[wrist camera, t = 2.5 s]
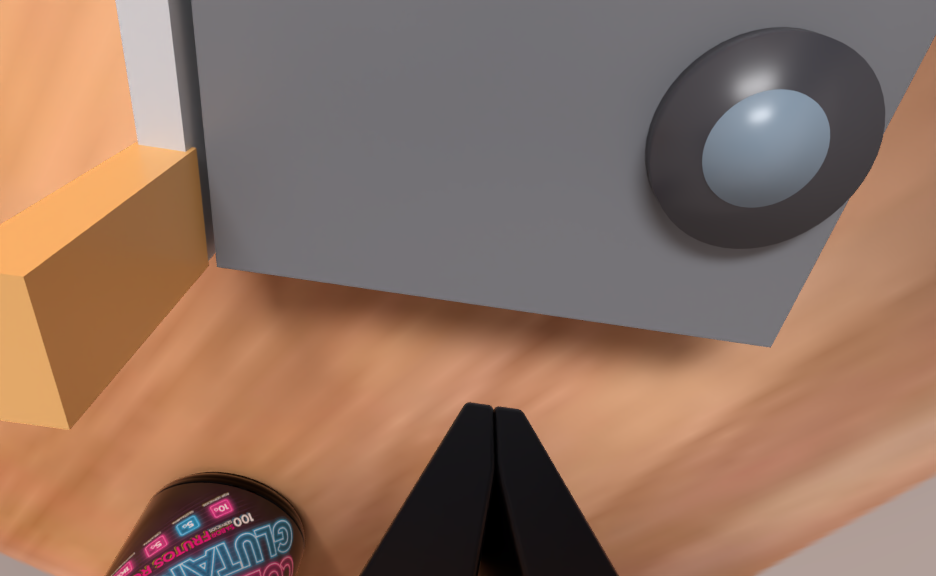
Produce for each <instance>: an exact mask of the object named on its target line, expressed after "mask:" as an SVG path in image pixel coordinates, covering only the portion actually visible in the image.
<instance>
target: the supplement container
mask: <svg viewBox="0 0 936 576" xmlns="http://www.w3.org/2000/svg"><path fill="white" fill-rule="evenodd" d="M304 549H305V534H304V528H303V525H302V522H301V520H300V517H299V516H298V514H297V512H296V511H295V509H294V508H293V507H292V505H291V504H290V503H289V502H288V501H287V500H286V499H285V498H284V497H283V496H281V495H280V494H279V493H278V492H276V491H275V490H273V489H271V488H270V487H268V486H266V485H264V484H262V483H260V482H258V481H255V480H253V479H250V478H247V477H243V476H239V475H235V474H229V473H221V472H205V473H197V474H192V475H189V476H185V477H182V478H179V479H177V480H175V481H173V482H171V483H169V484H167V485H166V486H165V487H163V488H162V489H161V490H159V491H158V492H157V493H156V494H155V495H154V496H153V497H152V498H151V500H150V501H149V503H148V505H147V506H146V508H145V510H144V511H143V513H142V515H141V516H140V518H139V519H138V521H137V523H136V524H135V526H134V528H133V529H132V531H131V533H130V534H129V536H128V538H127V539H126V541H125V543H124V544H123V546H122V548H121V549H120V551H119V553H118V554H117V556H116V557H115V559H114V561H113V562H112V564H111V566H110V567H109V569H108V571H107V572H106V574H105V576H296V575H297V572H298V569H299V565H300V562H301V559H302V556H303V553H304Z"/></svg>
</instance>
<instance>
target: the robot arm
mask: <svg viewBox="0 0 936 576" xmlns="http://www.w3.org/2000/svg"><path fill="white" fill-rule="evenodd" d="M359 576H619V575H618V574H617V572H616V570H615V568H614V567H613V565H612V563H611V562H610V560H609V558H608V556H607V555H606V553H605V551H604V550H603V548H602V546H601V544H600V543H599V541H598V539H597V538H596V536H595V534H594V532H593V531H592V529H591V527H590V526H589V524H588V522H587V520H586V519H585V517H584V515H583V514H582V512H581V510H580V509H579V507H578V505H577V503H576V502H575V500H574V498H573V497H572V495H571V493H570V491H569V490H568V488H567V486H566V485H565V483H564V481H563V479H562V478H561V476H560V474H559V473H558V471H557V469H556V467H555V466H554V464H553V462H552V461H551V459H550V457H549V455H548V454H547V452H546V450H545V449H544V447H543V445H542V443H541V442H540V440H539V438H538V437H537V435H536V433H535V431H534V430H533V428H532V426H531V425H530V423H529V421H528V420H527V418H526V416H525V414H524V413H523V412H522V411H521V410H519V409H514V408H507V407H496V408H495V409H494V410H493V408H492V407H491V406H490V405H485V404H478V403H471V402H468V403H466V404H465V405H464V406H463V408H462V409H461V411H460V413H459V414H458V416H457V417H456V419H455V421H454V422H453V424H452V426H451V427H450V429H449V430H448V432H447V434H446V435H445V437H444V439H443V440H442V442H441V443H440V445H439V447H438V448H437V450H436V452H435V453H434V455H433V456H432V458H431V460H430V461H429V463H428V465H427V466H426V468H425V469H424V471H423V473H422V474H421V476H420V478H419V479H418V481H417V482H416V484H415V486H414V487H413V489H412V491H411V492H410V494H409V495H408V497H407V499H406V500H405V502H404V504H403V505H402V507H401V508H400V510H399V512H398V513H397V515H396V517H395V518H394V520H393V521H392V523H391V525H390V526H389V528H388V530H387V531H386V533H385V534H384V536H383V538H382V539H381V541H380V543H379V544H378V546H377V547H376V549H375V551H374V552H373V554H372V556H371V557H370V559H369V560H368V562H367V564H366V565H365V567H364V568H363V570H362V572H361V573H360V575H359Z"/></svg>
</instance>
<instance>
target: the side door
mask: <svg viewBox="0 0 936 576" xmlns="http://www.w3.org/2000/svg"><path fill="white" fill-rule="evenodd" d="M115 1H116V7H117V14H118V20H119V26H120V32H121V39H122V45H123V51H124V57H125V64H126V70H127V76H128V83H129V89H130V95H131V101H132V108H133V114H134V120H135V127H136V133H137V139H138V142H136V143H134V144H133V145H131V146H129V147H128V148H126V149H124V150H123V151H121V152H119V153H118V154H116V155H114V156H113V157H111V158H109V159H108V160H106V161H105V162H103V163H101V164H100V165H98V166H96V167H95V168H93V169H91V170H90V171H88V172H86V173H85V174H83V175H81V176H80V177H78V178H76V179H75V180H73V181H72V182H70V183H68V184H67V185H65V186H63V187H62V188H60V189H58V190H57V191H55V192H53V193H52V194H50V195H48V196H47V197H45V198H43V199H42V200H40V201H39V202H37V203H35V204H34V205H32V206H30V207H29V208H27V209H25V210H24V211H22V212H20V213H19V214H17V215H15V216H14V217H12V218H11V219H9V220H7V221H6V222H4V223H2V224H1V225H0V421H7V422H14V423H22V424H29V425H37V426H44V427H52V428H59V429H67V430H70V429H71V428H72V427H73V426H74V424H75V423H76V422H77V421H78V420H79V418H80V417H81V416H82V415H83V414H84V413H85V411H86V410H87V409H88V408H89V407H90V405H91V404H92V403H93V402H94V401H95V400H96V398H97V397H98V396H99V395H100V394H101V392H102V391H103V390H104V389H105V388H106V387H107V385H108V384H109V383H110V382H111V381H112V379H113V378H114V377H115V376H116V375H117V374H118V372H119V371H120V370H121V369H122V368H123V366H124V365H125V364H126V363H127V362H128V361H129V359H130V358H131V357H132V356H133V355H134V354H135V352H136V351H137V350H138V349H139V348H140V346H141V345H142V344H143V343H144V342H145V341H146V339H147V338H148V337H149V336H150V335H151V333H152V332H153V331H154V330H155V329H156V328H157V326H158V325H159V324H160V323H161V322H162V320H163V319H164V318H165V317H166V316H167V315H168V313H169V312H170V311H171V310H172V309H173V307H174V306H175V305H176V304H177V303H178V302H179V300H180V299H181V298H182V297H183V296H184V294H185V293H186V292H187V291H188V290H189V289H190V287H191V286H192V285H193V284H194V283H195V281H196V280H197V279H198V278H199V277H200V276H201V274H202V273H203V272H204V271H205V270H206V268H207V267H208V266H209V262H208V261H209V260H210V258H211V257H212V256H213V255H214V254H215V253H216V251H215V241H214V231H213V220H212V210H211V200H210V189H209V179H208V169H207V159H206V148H205V138H204V128H203V117H202V107H201V97H200V87H199V76H198V66H197V56H196V45H195V35H194V25H193V15H192V4H191V0H115Z"/></svg>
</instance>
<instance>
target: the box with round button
mask: <svg viewBox="0 0 936 576" xmlns="http://www.w3.org/2000/svg"><path fill="white" fill-rule="evenodd" d="M191 4H192V15H193V25H194V35H195V45H196V56H197V66H198V76H199V87H200V97H201V107H202V117H203V128H204V138H205V148H206V159H207V169H208V179H209V189H210V200H211V210H212V220H213V231H214V241H215V251H216V261H217V267H221V268H228V269H235V270H242V271H249V272H256V273H262V274H269V275H276V276H283V277H290V278H297V279H304V280H310V281H317V282H324V283H331V284H338V285H345V286H352V287H359V288H365V289H372V290H379V291H386V292H393V293H400V294H407V295H414V296H420V297H427V298H434V299H441V300H448V301H455V302H462V303H468V304H475V305H482V306H489V307H496V308H503V309H510V310H517V311H523V312H530V313H537V314H544V315H551V316H558V317H565V318H571V319H578V320H585V321H592V322H599V323H606V324H613V325H620V326H626V327H633V328H640V329H647V330H654V331H661V332H668V333H674V334H681V335H688V336H695V337H702V338H709V339H716V340H723V341H729V342H736V343H743V344H750V345H757V346H764V347H771V346H772V344H773V342H774V340H775V338H776V337H777V335H778V333H779V331H780V329H781V327H782V325H783V323H784V321H785V319H786V318H787V316H788V314H789V312H790V310H791V308H792V306H793V304H794V302H795V301H796V299H797V297H798V295H799V293H800V291H801V289H802V287H803V285H804V283H805V282H806V280H807V278H808V276H809V274H810V272H811V270H812V268H813V266H814V265H815V263H816V261H817V259H818V257H819V255H820V253H821V251H822V249H823V247H824V246H825V244H826V242H827V240H828V238H829V236H830V234H831V232H832V230H833V229H834V227H835V225H836V223H837V221H838V219H839V217H840V215H841V213H842V212H843V210H844V208H845V206H846V204H847V202H848V200H849V198H850V197H851V196H852V195H853V194H854V193H855V191H856V190H857V189H858V187H859V186H860V185H861V183H862V182H863V181H864V179H865V177H866V176H867V174H868V172H869V171H870V169H871V167H872V165H873V163H874V161H875V159H876V157H877V154H878V151H879V148H880V145H881V142H882V138H883V134H884V132H885V130H886V128H887V126H888V124H889V122H890V121H891V119H892V117H893V115H894V113H895V111H896V109H897V107H898V105H899V104H900V102H901V100H902V98H903V96H904V94H905V92H906V90H907V88H908V87H909V85H910V83H911V81H912V79H913V77H914V75H915V73H916V71H917V69H918V68H919V66H920V64H921V62H922V60H923V58H924V56H925V54H926V52H927V51H928V49H929V47H930V45H931V43H932V41H933V39H934V37H935V35H936V0H191Z"/></svg>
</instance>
